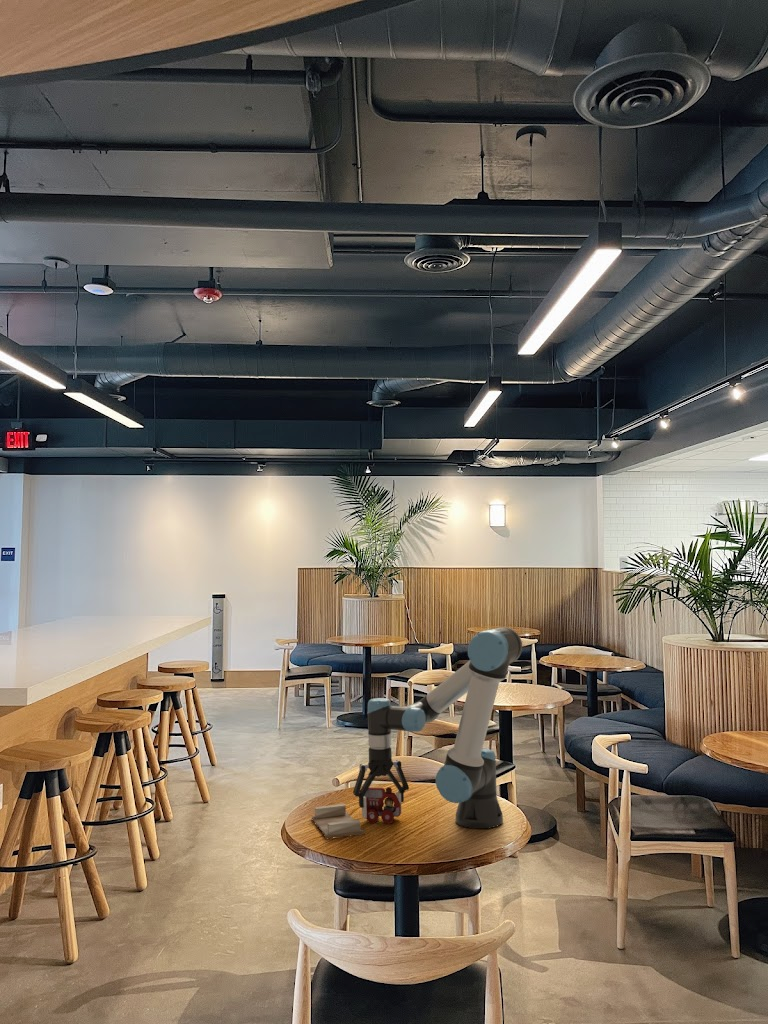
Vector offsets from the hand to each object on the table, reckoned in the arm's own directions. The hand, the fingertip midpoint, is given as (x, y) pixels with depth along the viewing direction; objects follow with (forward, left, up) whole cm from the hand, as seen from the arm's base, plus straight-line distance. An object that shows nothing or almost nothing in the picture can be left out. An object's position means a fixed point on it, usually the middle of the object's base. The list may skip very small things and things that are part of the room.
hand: (381, 814), depth 250 cm
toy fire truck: (0, 0, -2) cm, 2 cm away
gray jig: (0, +15, -2) cm, 15 cm away
